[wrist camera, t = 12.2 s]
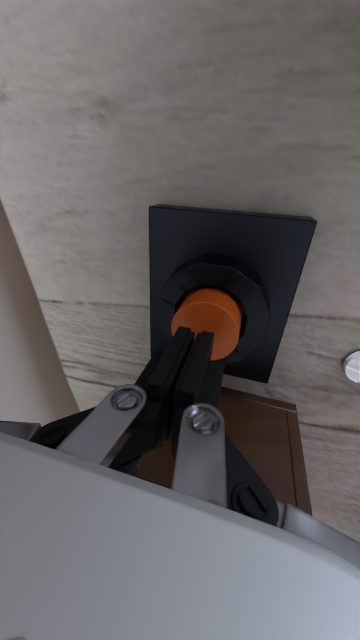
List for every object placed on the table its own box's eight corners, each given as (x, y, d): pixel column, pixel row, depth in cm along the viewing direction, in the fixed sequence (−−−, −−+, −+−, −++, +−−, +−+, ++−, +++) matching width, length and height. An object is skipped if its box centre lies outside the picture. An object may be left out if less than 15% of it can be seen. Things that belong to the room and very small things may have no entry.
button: (182, 283, 14) (172, 296, 12) (246, 293, 13) (244, 308, 12) (179, 335, 16) (170, 353, 14) (235, 347, 15) (232, 367, 13)
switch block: (157, 204, 15) (133, 209, 12) (312, 217, 13) (326, 226, 11) (157, 346, 21) (140, 373, 18) (267, 370, 19) (268, 405, 16)
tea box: (148, 369, 22) (93, 461, 15) (295, 404, 20) (316, 537, 12) (150, 462, 30) (113, 554, 22) (258, 497, 27) (256, 616, 20)
